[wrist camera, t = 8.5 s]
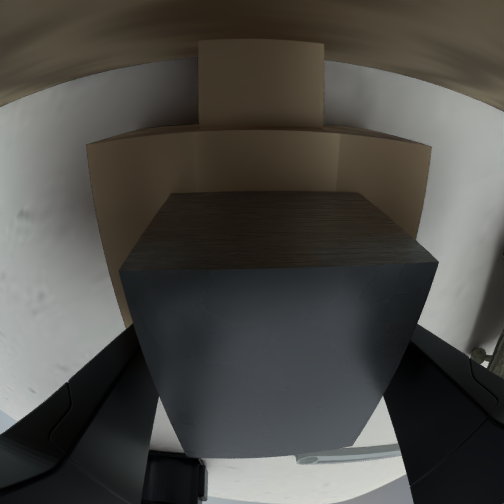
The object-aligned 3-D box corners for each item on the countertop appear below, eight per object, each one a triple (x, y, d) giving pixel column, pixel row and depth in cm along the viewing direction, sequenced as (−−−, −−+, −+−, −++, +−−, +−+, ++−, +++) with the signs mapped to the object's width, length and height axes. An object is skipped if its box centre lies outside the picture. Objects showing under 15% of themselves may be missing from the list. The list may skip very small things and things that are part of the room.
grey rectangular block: (203, 304, 14) (186, 456, 7) (192, 165, 11) (118, 270, 4) (308, 301, 15) (352, 445, 7) (321, 165, 11) (438, 261, 4)
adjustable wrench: (289, 453, 27) (291, 466, 25) (322, 428, 24) (326, 443, 23) (420, 448, 33) (423, 457, 31) (449, 426, 30) (453, 435, 28)
